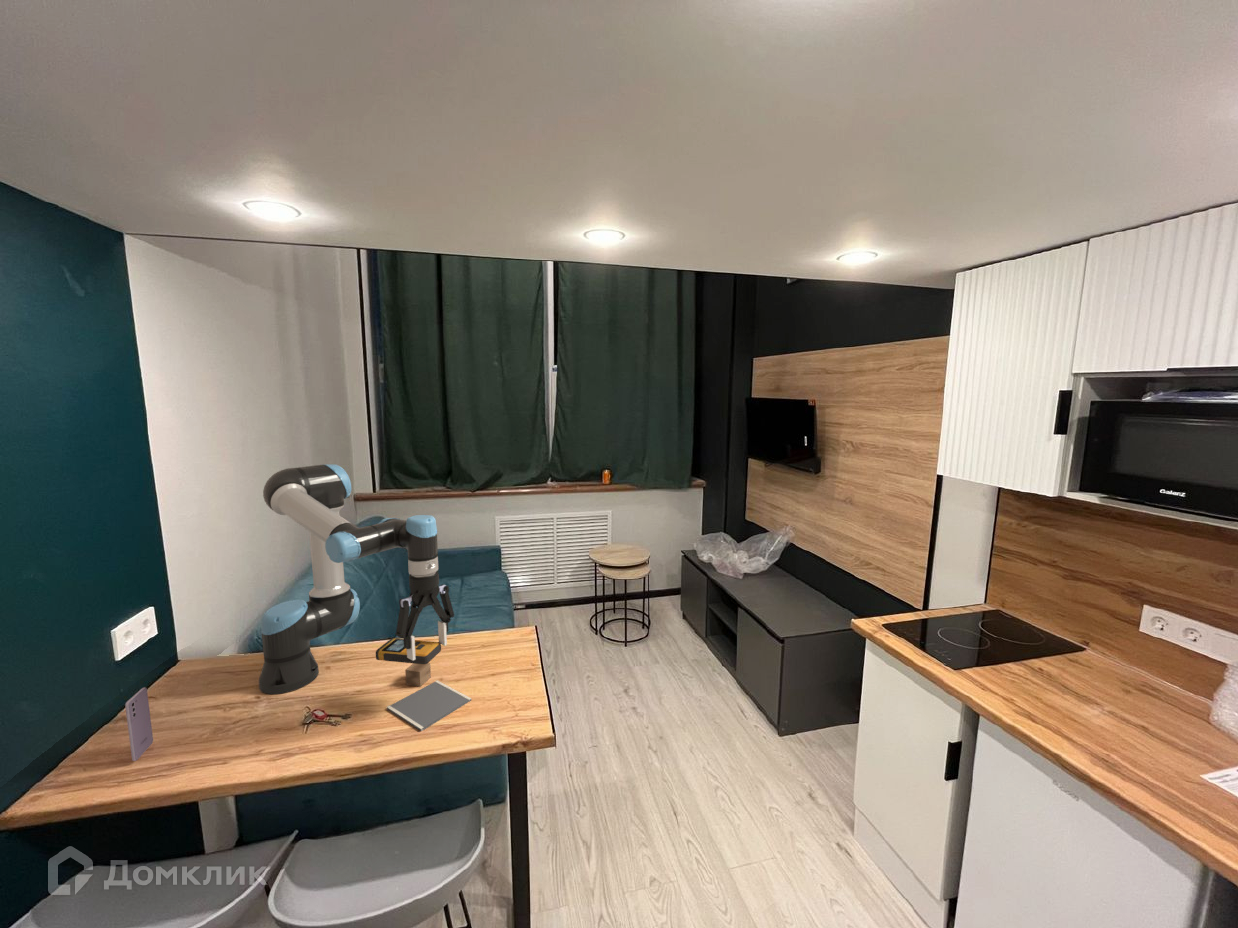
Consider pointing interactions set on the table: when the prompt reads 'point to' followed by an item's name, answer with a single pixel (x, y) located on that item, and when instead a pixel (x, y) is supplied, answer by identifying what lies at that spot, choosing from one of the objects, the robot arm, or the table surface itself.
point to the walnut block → (417, 674)
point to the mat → (428, 705)
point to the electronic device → (398, 653)
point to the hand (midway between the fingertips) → (427, 650)
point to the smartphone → (139, 723)
